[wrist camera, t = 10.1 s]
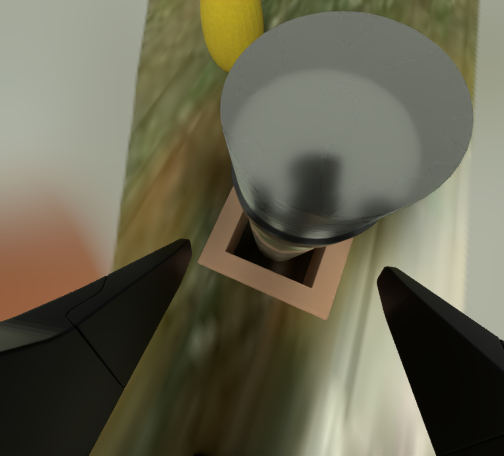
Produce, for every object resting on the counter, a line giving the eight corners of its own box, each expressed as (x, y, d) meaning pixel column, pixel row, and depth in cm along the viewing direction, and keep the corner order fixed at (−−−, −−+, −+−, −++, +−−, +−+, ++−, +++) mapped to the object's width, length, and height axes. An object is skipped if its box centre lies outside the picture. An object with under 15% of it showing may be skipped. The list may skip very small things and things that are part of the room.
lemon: (267, 88, 21) (269, -22, 13) (217, 97, 21) (188, -6, 13) (260, 49, 22) (256, -73, 14) (212, 58, 22) (183, -58, 14)
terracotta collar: (313, 309, 16) (326, 320, 12) (211, 264, 17) (197, 262, 14) (348, 207, 17) (368, 191, 14) (252, 173, 19) (248, 151, 15)
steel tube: (295, 271, 16) (453, 275, 3) (245, 250, 17) (168, 168, 3) (313, 222, 17) (502, 35, 4) (264, 203, 18) (267, -13, 4)
